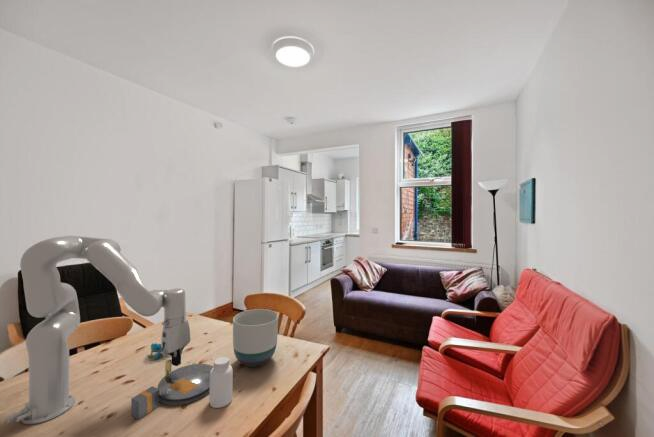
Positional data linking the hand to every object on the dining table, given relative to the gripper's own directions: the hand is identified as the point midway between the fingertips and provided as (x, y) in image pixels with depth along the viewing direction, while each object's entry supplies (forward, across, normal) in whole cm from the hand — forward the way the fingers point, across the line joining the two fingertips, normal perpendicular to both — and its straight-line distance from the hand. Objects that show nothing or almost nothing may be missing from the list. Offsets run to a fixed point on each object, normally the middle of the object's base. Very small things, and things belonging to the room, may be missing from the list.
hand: (176, 364), depth 106 cm
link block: (+7, -15, -4) cm, 17 cm away
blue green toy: (+8, +11, +26) cm, 29 cm away
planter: (+9, +25, -20) cm, 33 cm away
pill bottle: (+8, -1, -24) cm, 26 cm away
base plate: (+8, 0, -6) cm, 10 cm away
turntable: (+6, 0, -6) cm, 9 cm away
